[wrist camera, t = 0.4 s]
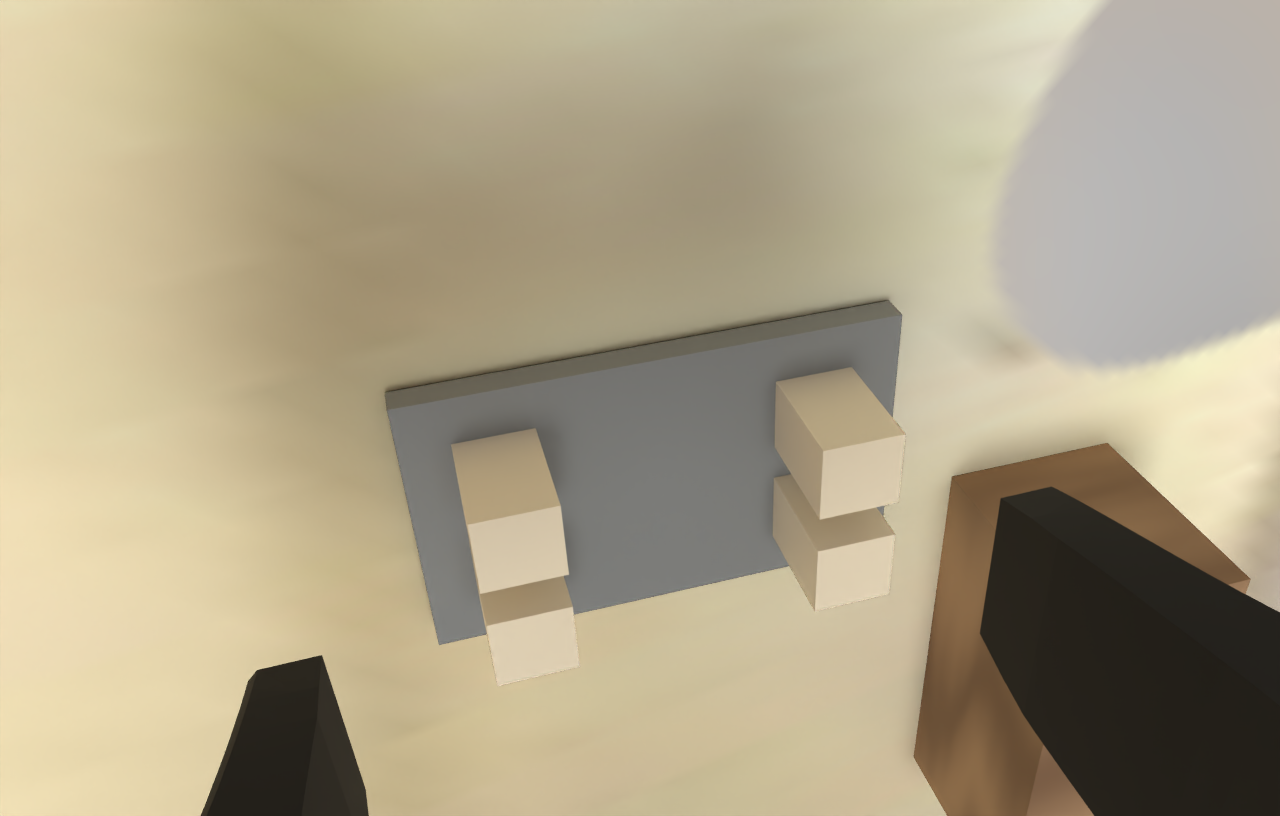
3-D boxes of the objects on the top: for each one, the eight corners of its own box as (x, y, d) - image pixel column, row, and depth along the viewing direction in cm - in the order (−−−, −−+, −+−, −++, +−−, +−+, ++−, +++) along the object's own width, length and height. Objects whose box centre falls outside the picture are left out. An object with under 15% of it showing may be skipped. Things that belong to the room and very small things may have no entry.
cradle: (889, 300, 22) (961, 378, 20) (869, 528, 25) (929, 618, 23) (384, 392, 20) (397, 490, 18) (436, 625, 24) (452, 733, 21)
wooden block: (1038, 719, 32) (1147, 870, 28) (911, 752, 31) (1003, 913, 27) (1103, 439, 26) (1250, 579, 22) (949, 472, 25) (1071, 623, 21)
